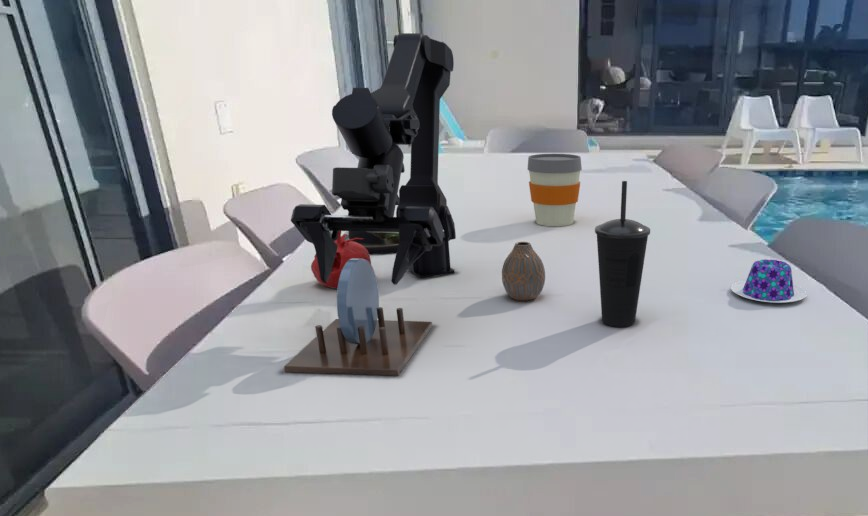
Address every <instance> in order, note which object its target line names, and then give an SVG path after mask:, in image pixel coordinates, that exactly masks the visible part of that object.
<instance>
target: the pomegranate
mask: <svg viewBox="0 0 868 516" xmlns="http://www.w3.org/2000/svg"><path fill="white" fill-rule="evenodd" d="M345 236H348V235H347V234H344V233H343V234H342V231H339V234H338V239H337V240H336V241H334V242H335V243H336V244H337V246H338V248H337V252H336V255H335V259H334V263H333V267H332V270H331V274H330V277H329V279H328V281H327V283H323V281H322V280H321V278H320V272H319V267H318V261H317V256H316V253H315V255H314V259H313V261H312V262H311V264H310V269H311V272H312V274H313V277H314V278H315V279H316V281H317V282H318V283H319V284H321V285H323V286H325V287H327V288H332V289H338V282H339V278H340V274H341V271H342V269H343V267H344V265H345V264H346V262H347V261H348V260H350V259H352V258H363V259H366V260H367V261H368V262H369V263H370V264H371V265H372V260H371V256H370V255H371V254H369V252H368V250H367V249H366V248H365V247H364V246H362V245H361V244H359V243H357V242H353V241H352V240H355V239H364V238H354V239H350V240H344V238H345Z"/></svg>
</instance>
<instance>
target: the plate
mask: <svg viewBox="0 0 868 516" xmlns="http://www.w3.org/2000/svg"><path fill="white" fill-rule="evenodd" d="M336 289H337V290H336V312H337V319H339V324H340V328H341V331H342V333H343V335H344V337H345V338H346V340H347V341H348V342H349V343H351V344H360V342H359V335H358V327H360V326H363V327H364V329H365V336H366V343H367V342H369V340H370V339H371V338H372V336H373V334H374V331H375V328H376V324H377V320H378V315H377V308H378V307H380V295H379V293H380V292H379V284H378V280H377V276H376V272H375V270H374V268H373V266H372V263H371V264H370V263H369V262H368V261H367V260H366V259H363V258H352V259H350V260H348V261H347V262H346V264H345V265H344V267H343V269H342V271H341V274H340V278H339V282H338V288H336Z"/></svg>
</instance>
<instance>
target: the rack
mask: <svg viewBox="0 0 868 516" xmlns="http://www.w3.org/2000/svg"><path fill="white" fill-rule="evenodd" d="M395 310H396V317H397V318H396V319H397V320H387V319H386V320H385V314H384V308H383V307H381V306H379V307H378V308H377V315H378V319H377V324H376V328H375V331H374V334H373V336H372V338H371V339H370V340H369V342H367V343H366V336H365V329H364V327H363V326H360V327H358V335H359V342H360V344H351V343H349V342H348V341H347V340H346V338H345V337H344V335H343V333H342V331H341V328H340V324H339V319H338V318H336V319H334V320H333V321H332V322H331V323H330V324H329V325H328V326H326V327H325V328H324V329H323V325H321V324H317V325H315V326H314V327H315V332H316V335H315V337H314V338H313V339H312V340H311V341H310V342H309V343H308V344H306V346H304V348H302V349H301V350H300V351H299V352H298V353H296V354H295V356H293V357H292V358H291V359H290V360H289V361H288V362H287V363H286V364H285V365H284V366H283V369H284V372H285V373H310V374H311V373H312V374H335V375H336V374H337V375H338V374H340V375H367V376H368V375H369V376H399V375H400V373H401V372H402V371H403V369H404V368H405V367H406V365H407V364H408V362H409V361H410V359H411V358H412V357H413V355H414V353H415V352H416V351H417V350H418V348H419V346H420V345H421V344H422V342H423V341H424V339H425V338H426V336H427V335H428V334H429V332H430V330H431V329H432V328H433V321H424V320H423V321H420V320H419V321H418V320H405V318H404V317H405V316H404V310H403V307H397V308H396V309H395Z"/></svg>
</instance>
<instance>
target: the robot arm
mask: <svg viewBox="0 0 868 516" xmlns="http://www.w3.org/2000/svg"><path fill="white" fill-rule="evenodd" d="M454 63H455V61H454V54H453V50H452V49H451V48H450V46H449V45H448V44H447V43H445V41H440V40H436V39H434V38H431V37H430V36H429V35H427V34H424V33H421V32H412V33H411V32H400V33H398V34H395V35H394V37H393V51H392V53H391V57H390V59H389V62H388V64H387V68H386V70H385V74H384V77H383V80H382V82H381V85H380V87H379V88H378V89H376V90H374V91H370V88H369V87H353V88H352V91H351V93H350V94H348V95H345V96H344V97H342V98H340V99H339V101H337V102H336V104H335V105H333V107H332V110H331V117H332V120H333V121H334V123H335V125H336V127H337V129H338V130H339V132H340V134H341V136H342V138H343V140H344V141H345V143H346V145H347V147H348V149H349V151H350V152H351V154H353V155H355V156H356V157H359V158H358V163H357V167H333V168H332V180H331V181H332V182H331V183H332V184H331V186H332V187H331V188H332V189H331V195H332V196H335V197H336V196H337V197H338V198H340V207H342V209H343V210H344V211H347V215H345V214H343V215H342V214H332V213H331V211H330V210H329V209H328V207H327V205H326V204H308V203H307V204H305V203H304V204H302V203H300V204H298V205H296V206H295V207H294V208H293V209H292V213H291V216H290V217H291V218H290V222H291V223H292V225H293V226H294V227H295V228H296V230H298V232H299V233H300V234H301V235H302V237H303V238H304V240H305V241H306V242H308V243H311V244H312V245H313V247H314V251H315V254H316V256H317V261H318V267H319V272H320V278H321V280H322V281H323V283H327V281H328V279H329V277H330V274H331V270H332V267H333V263H334V259H335V255H336V252H337V248H338V246H337V244H336V243H335V242H334V241H336V240H337V239H338V234H339V231H341V232H347V231H366V232H383V233H399V244H398V249H397V252H395V258H394V262H393V266H392V271H391V283H392V284H393V286H397V285H398V284H399V283H400V281H401V280H402V279H403V277H404V276H405V275H406V274H407V272H408V271H409V272H410V273H411V274H414V275H415V276H417V277H418V278H419V279H427V278H432V277H437V276H444V275H448V274H454V273H455V272H456V270H455V269H454V268H453V267H451V256H450V255H451V253H450V243H449V242H450V241H452V240H456V239H457V235H456V234H457V233H456V226H455V225H456V224H455V221H454V219H453V216H452V213H451V211H450V209H449V206H448V205H447V204H448V203H447V201H448V200H447V197H446V196H445V194H444V192H443V190H442V189H441V186H440V185H439V181H438V180H439V149H440V146H439V145H440V144H439V143H440V109H441V108H440V105H441V98H442V97H443V95H444V94H445V93H446V92H447V90H448V88H449V87H450V85H451V72H453V71H454ZM408 145H409V146H410V170H409V171H410V174H409V179H408V180H407V181H406V183H405V184H401V185H400V182H401V175H402V174H404V173H405V172H406V169H405V164H404V157H405V155H404V153H403V151H402V149H401V148H400V147H399V146H408ZM395 210H396V211H395Z"/></svg>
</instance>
